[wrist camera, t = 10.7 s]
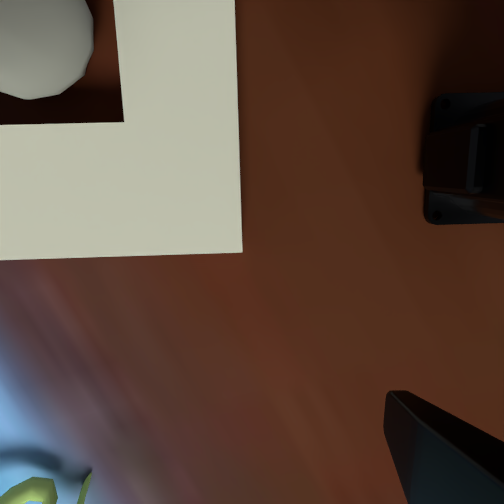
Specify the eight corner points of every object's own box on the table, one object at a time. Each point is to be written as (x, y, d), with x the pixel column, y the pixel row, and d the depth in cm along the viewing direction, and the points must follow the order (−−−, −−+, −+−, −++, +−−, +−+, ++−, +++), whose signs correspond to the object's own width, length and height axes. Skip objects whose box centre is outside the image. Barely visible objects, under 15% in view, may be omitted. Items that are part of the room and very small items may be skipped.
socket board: (227, -214, 17) (225, -280, 14) (241, 242, 21) (242, 252, 18) (-203, -214, 16) (-282, -283, 14) (-101, 253, 20) (-148, 264, 18)
